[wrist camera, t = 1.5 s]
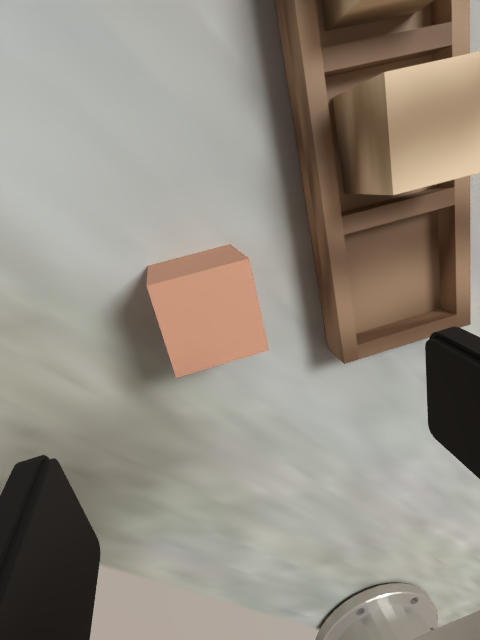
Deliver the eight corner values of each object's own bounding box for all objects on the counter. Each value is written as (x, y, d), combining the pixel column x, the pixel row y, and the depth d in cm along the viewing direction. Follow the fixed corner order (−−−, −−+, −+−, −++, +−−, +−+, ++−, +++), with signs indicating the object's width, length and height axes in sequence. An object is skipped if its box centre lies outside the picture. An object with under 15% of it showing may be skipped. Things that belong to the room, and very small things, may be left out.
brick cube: (247, 320, 25) (268, 350, 20) (171, 341, 24) (176, 378, 20) (229, 244, 23) (248, 258, 19) (147, 265, 23) (146, 286, 18)
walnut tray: (444, 312, 28) (516, 344, 22) (327, 348, 27) (373, 390, 21) (430, -158, 19) (545, -300, 13) (254, -132, 18) (300, -276, 12)
